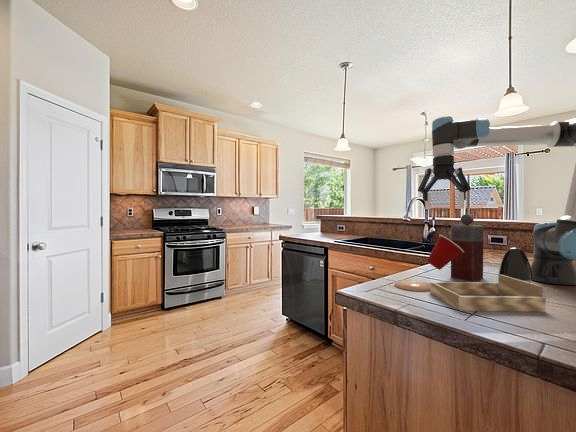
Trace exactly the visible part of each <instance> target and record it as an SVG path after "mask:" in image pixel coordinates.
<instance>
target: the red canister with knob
mask: <svg viewBox="0 0 576 432" xmlns="http://www.w3.org/2000/svg"><path fill="white" fill-rule="evenodd" d="M460 222H461V223H462V224H453V225H451V228H450V240H451V241H453V242H454V243H455V244H457V245H458V246H459V247H460V248H461V249H462V250H463V251H464V253H461V254H459V255H458V256H456V257H455V258H454V259H453V260H451V261H450V278H453V279H458V280H463V281H467V282H478V281H480V280H482V279H484V226H483V225H482V224H481V225H480V224H479V225H478V224H477V225H476V224H473V223H474V216H473V215H472V214H469V213H468V214H463V215H461V217H460Z"/></svg>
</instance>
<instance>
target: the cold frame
mask: <svg viewBox="0 0 576 432" xmlns="http://www.w3.org/2000/svg"><path fill="white" fill-rule="evenodd" d="M497 280H498V282H492V281H491V282H481V281H480V282H478V281H473V282H472V281H467V282H466V281H465V282H464V281H461V282H460V281H459V282H458V281H455V282H454V281H430V282H429V284H430V291H429V294H431V295H432V296H434V297H436V298H438V299H439V300H441V301H443V302H444V303H446V304H448V305H449V306H452V307H453V308H455V309H456V310H458V311H461V312H468V311H469V312H475V311H476V312H538V313H539V312H541V313H542V312H543V313H545V312H546V297H545V296H543V286H542V285H539V284H535V283H532V282H531V283H529V282H526V281H522V280H519V279H515V278H512V277H508V276H505V275H499V274H498V279H497Z"/></svg>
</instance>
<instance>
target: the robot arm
mask: <svg viewBox="0 0 576 432" xmlns="http://www.w3.org/2000/svg"><path fill="white" fill-rule="evenodd" d="M431 125H432V126H431V140H432V141H431V144H432V157H433V158H432V168H431V167H429V168H425V171H424V175H423V178H422V180H421V181H420V185H419V187H418V189H417V191H418V192H419V193H421V194H422V201H423V202H424V207H425V208H424V210H431V193H430V190H431V189H432V188H433V187H434V185H435V184H436V183H437V182H438V181H441V180H448V181H450V182H451V184H452V185H453V186H454V187H455V188H456V189H457V190H458V192H457V205H458V206H457V207H458V208H457V209H458V210H459V209H465V200H467V192H468V191H471V190H472V187H471V186H470V184H469V181H468V180H467V178H466V177H465V175H464V172H463V168H462V167H461V166H460V167H457V168H454V165H455V156H454V155H455V149H457V150H461V149H466V148H467V147H468V148H469V147H470V148H471V147H493V146H494V147H496V146H497V147H498V146H500V147H501V146H525V145H527V146H530V145H531V146H534V145H535V146H536V145H547V146H548V147H550V148H551V147H553V148H554V147H561V148H562V147H565V148H566V147H567V148H568V147H575V148H576V117H574V118H571V119H567V120H562V121H561V120H560V121H553V122H551V123H550V124H538V125H520V126H519V125H518V126H516V125H515V126H499V127H497V126H495V127H491V123H490V120H489V119H488V118H485V117H483V118H475V119H473V118H472V119H466V120H457V121H456V120H455V121H454V119H453V117H452V116H440V117H437V118H435V119H433V120H432V123H431ZM572 173H573V174H572V178H571V182H570V187H569V191H568V196H567V200H566V204H565V209H564V213H563V215H562V216H560V217H558V218H557V219H556V221H554V222H540V223H536V224H534V226H533V231H532V233H533V235H532V236H533V237H532V239H533V241H532V242H533V243H532V244H533V246H532V247H533V259H532V262H531V264H530V267H531V271H532V280H531V281H536V282H541V283H546V284H547V283H548V284H554V285H563V286H564V285H565V286H568V285H569V286H575V285H576V267H575V264H574V261H576V163H575V165H574V169H573V172H572ZM432 174H433V176H432V178H431V179H430V177H431V175H432ZM429 179H430V181H429ZM428 181H429V182H428Z"/></svg>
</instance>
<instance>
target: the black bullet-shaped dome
mask: <svg viewBox="0 0 576 432" xmlns="http://www.w3.org/2000/svg"><path fill="white" fill-rule="evenodd" d="M499 275H505V276H508V277H512V278H515V279H519V280H522V281H526V282H529V283H532V281H533V280H532V271H531V264H530V261H529V258H528V256H527V255H526V253H525V251H524V250H523V249H521V248H519V247H516V246H515V247H513V246H512V247H510V248H508V249H507V250H506V251H505V252H504V254H503V256H502V258H501V262H500V265H499V269H498V276H499Z"/></svg>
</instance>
